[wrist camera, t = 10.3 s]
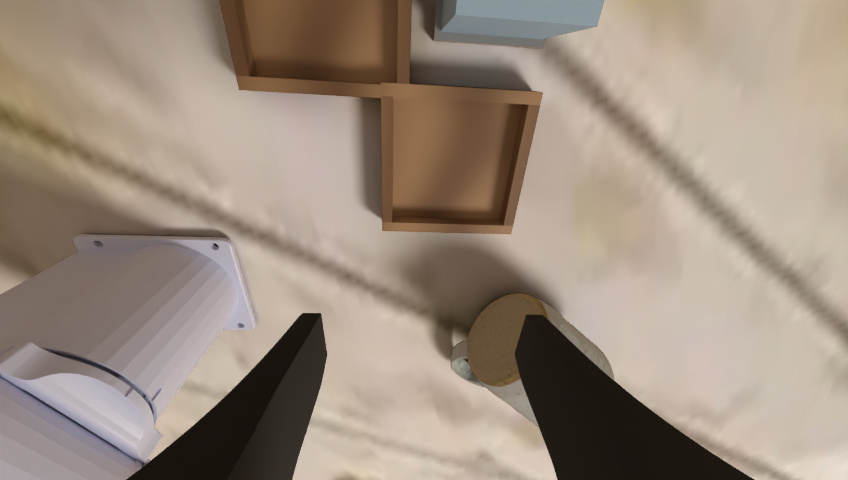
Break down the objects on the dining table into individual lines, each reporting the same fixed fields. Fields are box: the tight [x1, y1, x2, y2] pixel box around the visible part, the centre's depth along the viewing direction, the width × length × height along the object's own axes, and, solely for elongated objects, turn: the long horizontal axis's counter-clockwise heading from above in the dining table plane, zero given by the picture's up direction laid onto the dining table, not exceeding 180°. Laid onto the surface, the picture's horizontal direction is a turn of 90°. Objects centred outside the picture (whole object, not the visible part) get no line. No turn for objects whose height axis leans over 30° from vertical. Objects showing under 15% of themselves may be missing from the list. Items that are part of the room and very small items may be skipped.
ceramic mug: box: [451, 293, 614, 427], centre depth 22 cm, size 11×8×8 cm
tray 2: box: [381, 82, 543, 234], centre depth 18 cm, size 8×8×1 cm
